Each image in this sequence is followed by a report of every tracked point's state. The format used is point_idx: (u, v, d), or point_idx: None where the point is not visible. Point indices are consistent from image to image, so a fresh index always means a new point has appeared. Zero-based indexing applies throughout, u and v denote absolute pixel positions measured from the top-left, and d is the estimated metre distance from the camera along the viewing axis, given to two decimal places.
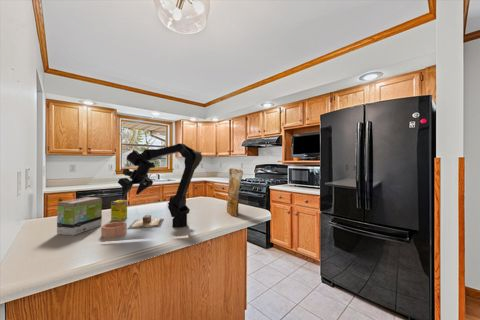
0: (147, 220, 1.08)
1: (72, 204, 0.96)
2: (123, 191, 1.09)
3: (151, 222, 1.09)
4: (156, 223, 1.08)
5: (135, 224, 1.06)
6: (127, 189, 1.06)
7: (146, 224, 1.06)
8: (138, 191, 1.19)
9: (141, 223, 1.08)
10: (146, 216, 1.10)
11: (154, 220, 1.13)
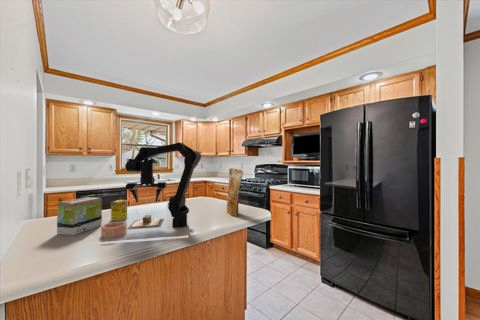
0: (147, 220, 1.08)
1: (72, 204, 0.96)
2: None
3: (151, 222, 1.09)
4: (156, 223, 1.08)
5: (135, 224, 1.06)
6: (129, 190, 1.06)
7: (146, 224, 1.06)
8: (156, 197, 1.11)
9: (141, 223, 1.08)
10: (146, 216, 1.10)
11: (154, 220, 1.13)
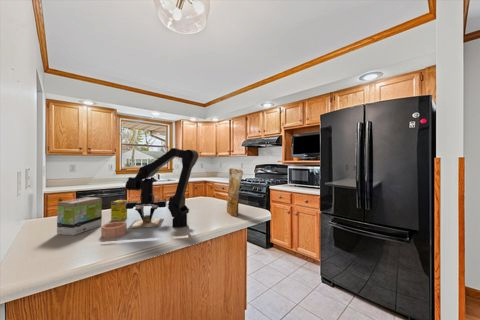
0: (147, 220, 1.08)
1: (72, 204, 0.96)
2: None
3: (151, 222, 1.09)
4: (156, 223, 1.08)
5: (135, 224, 1.06)
6: (136, 209, 1.06)
7: (146, 224, 1.06)
8: (150, 217, 1.10)
9: (141, 223, 1.08)
10: (146, 216, 1.10)
11: (154, 220, 1.13)
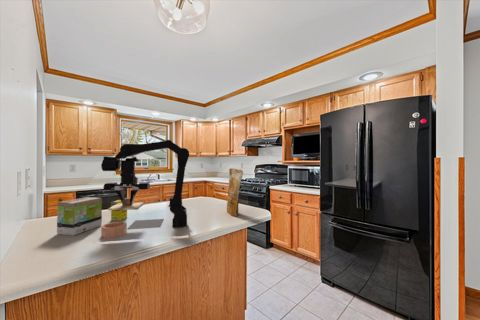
0: (127, 203, 0.99)
1: (72, 204, 0.96)
2: None
3: (132, 205, 1.00)
4: (137, 206, 0.99)
5: (113, 207, 0.97)
6: (114, 191, 0.97)
7: (125, 207, 0.97)
8: None
9: (120, 206, 0.99)
10: (126, 199, 1.01)
11: (136, 204, 1.04)
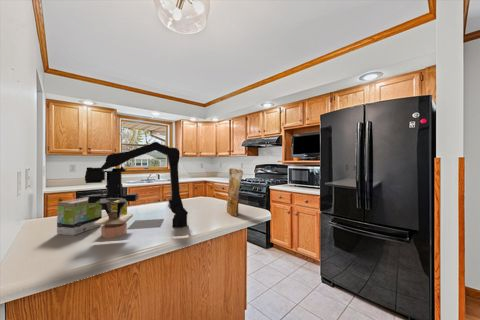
0: (114, 216, 0.93)
1: (72, 204, 0.96)
2: None
3: (119, 218, 0.94)
4: (124, 219, 0.93)
5: (99, 221, 0.91)
6: (100, 204, 0.91)
7: (112, 221, 0.91)
8: None
9: (107, 219, 0.93)
10: (113, 211, 0.95)
11: (124, 216, 0.98)
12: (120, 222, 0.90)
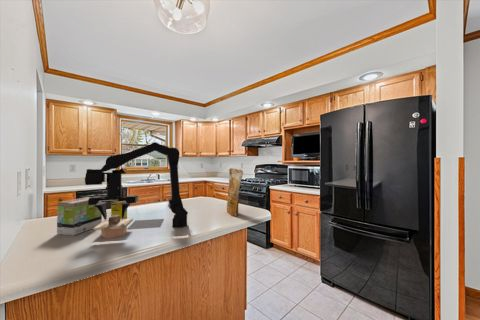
0: (114, 221, 0.93)
1: (72, 204, 0.96)
2: None
3: (119, 223, 0.94)
4: (124, 224, 0.93)
5: (99, 225, 0.91)
6: (95, 206, 0.91)
7: (112, 225, 0.91)
8: None
9: (107, 224, 0.93)
10: (113, 216, 0.95)
11: (124, 221, 0.98)
12: (120, 227, 0.90)
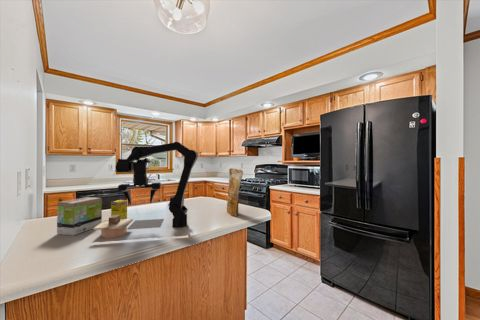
0: (114, 221, 0.93)
1: (72, 204, 0.96)
2: None
3: (119, 223, 0.94)
4: (124, 224, 0.93)
5: (99, 225, 0.91)
6: (122, 192, 1.01)
7: (112, 225, 0.91)
8: (150, 199, 1.06)
9: (107, 224, 0.93)
10: (113, 216, 0.95)
11: (124, 221, 0.98)
12: (120, 227, 0.90)
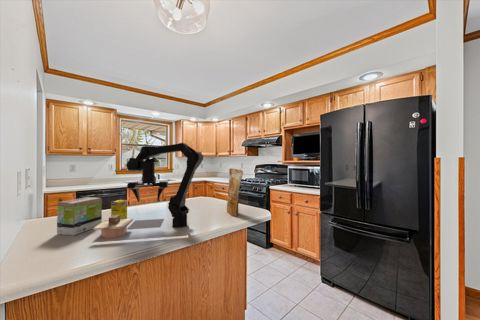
0: (114, 221, 0.93)
1: (72, 204, 0.96)
2: None
3: (119, 223, 0.94)
4: (124, 224, 0.93)
5: (99, 225, 0.91)
6: (131, 189, 1.05)
7: (112, 225, 0.91)
8: None
9: (107, 224, 0.93)
10: (113, 216, 0.95)
11: (124, 221, 0.98)
12: (120, 227, 0.90)
